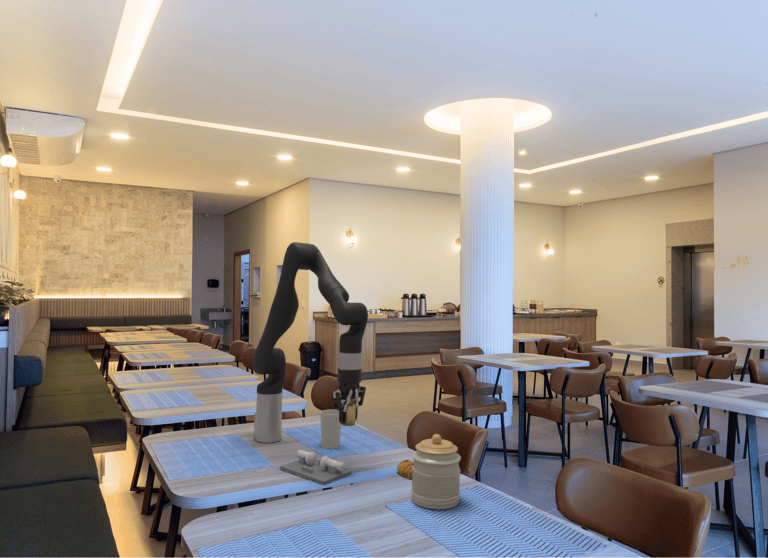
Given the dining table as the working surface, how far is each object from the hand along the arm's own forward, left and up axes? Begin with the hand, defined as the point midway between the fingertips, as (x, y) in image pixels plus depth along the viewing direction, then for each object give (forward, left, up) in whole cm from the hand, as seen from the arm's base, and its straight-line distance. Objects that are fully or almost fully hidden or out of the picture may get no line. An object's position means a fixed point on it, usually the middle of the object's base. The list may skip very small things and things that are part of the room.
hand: (348, 421), depth 167 cm
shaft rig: (-5, -8, -15) cm, 18 cm away
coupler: (0, 0, -1) cm, 1 cm away
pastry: (+17, +10, -15) cm, 25 cm away
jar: (+34, -2, -15) cm, 37 cm away
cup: (-21, +14, -15) cm, 29 cm away
